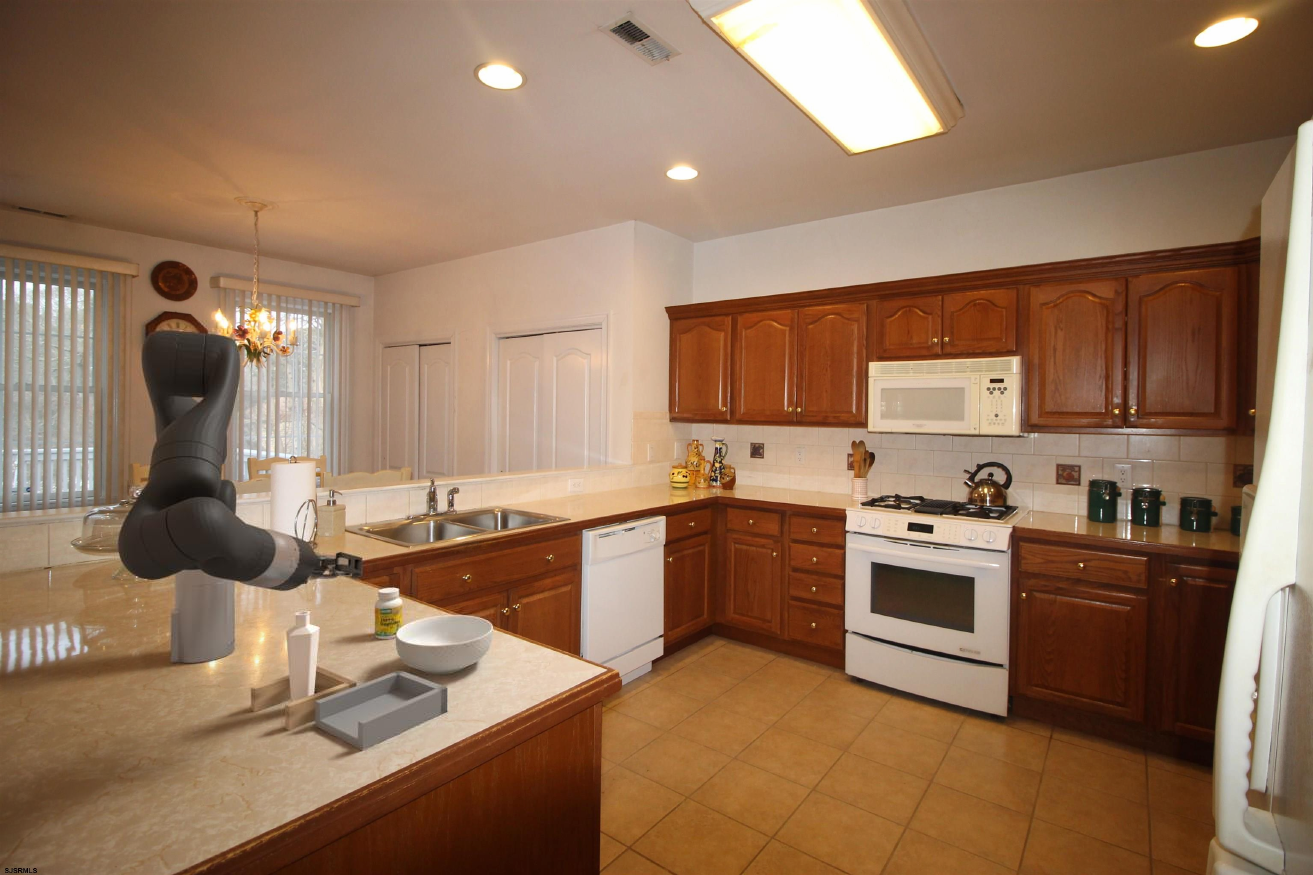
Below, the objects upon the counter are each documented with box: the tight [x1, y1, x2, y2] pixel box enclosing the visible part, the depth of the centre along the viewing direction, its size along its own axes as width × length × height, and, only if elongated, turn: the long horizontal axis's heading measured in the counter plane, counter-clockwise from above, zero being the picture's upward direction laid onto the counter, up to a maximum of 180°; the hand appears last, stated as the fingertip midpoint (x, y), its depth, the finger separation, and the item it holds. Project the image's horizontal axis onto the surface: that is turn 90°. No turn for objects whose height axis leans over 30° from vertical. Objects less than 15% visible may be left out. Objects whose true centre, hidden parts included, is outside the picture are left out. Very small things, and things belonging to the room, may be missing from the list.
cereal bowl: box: [395, 614, 494, 675], centre depth 115 cm, size 17×17×7 cm
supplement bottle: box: [374, 587, 404, 640], centre depth 130 cm, size 5×5×10 cm
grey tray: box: [314, 669, 448, 751], centre depth 94 cm, size 14×12×4 cm
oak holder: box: [250, 665, 358, 731], centre depth 98 cm, size 10×11×4 cm
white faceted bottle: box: [285, 610, 320, 703], centre depth 97 cm, size 5×4×15 cm
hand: (332, 574), depth 100 cm, fingers open, 8 cm apart
